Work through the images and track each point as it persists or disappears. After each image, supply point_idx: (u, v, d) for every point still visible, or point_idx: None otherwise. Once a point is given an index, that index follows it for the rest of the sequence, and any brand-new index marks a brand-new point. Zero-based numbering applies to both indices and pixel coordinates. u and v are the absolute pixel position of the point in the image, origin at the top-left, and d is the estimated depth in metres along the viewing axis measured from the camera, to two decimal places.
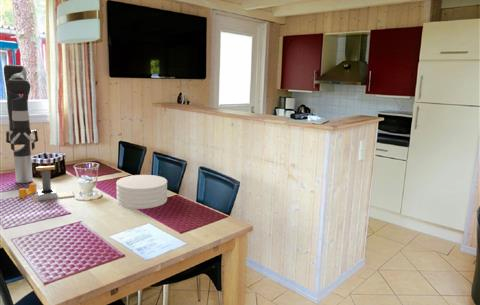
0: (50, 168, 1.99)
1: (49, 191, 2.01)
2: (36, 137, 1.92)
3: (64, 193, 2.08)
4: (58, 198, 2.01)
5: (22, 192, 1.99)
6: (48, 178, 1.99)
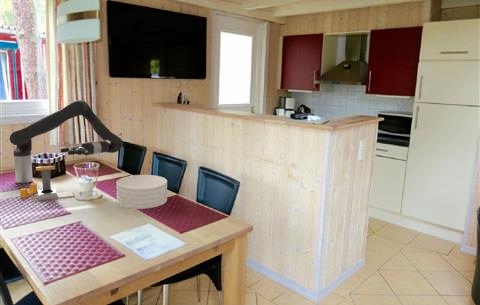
0: (50, 168, 1.99)
1: (49, 191, 2.01)
2: None
3: (64, 193, 2.08)
4: (58, 198, 2.01)
5: (24, 192, 1.99)
6: (48, 178, 1.99)
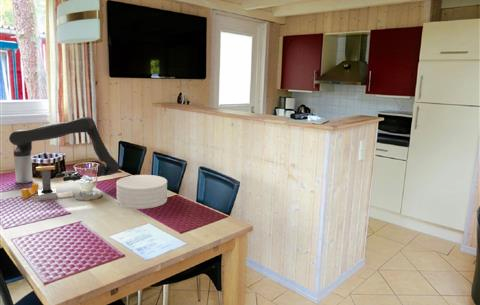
0: (50, 168, 1.99)
1: (49, 191, 2.01)
2: None
3: (64, 193, 2.08)
4: (58, 198, 2.01)
5: (25, 192, 1.99)
6: (48, 178, 1.99)
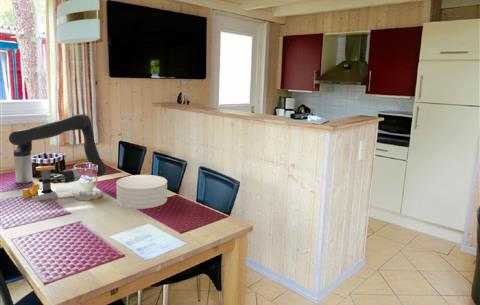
0: (50, 168, 1.99)
1: (49, 191, 2.01)
2: None
3: (64, 193, 2.08)
4: (58, 198, 2.01)
5: (27, 192, 1.99)
6: (48, 178, 1.99)
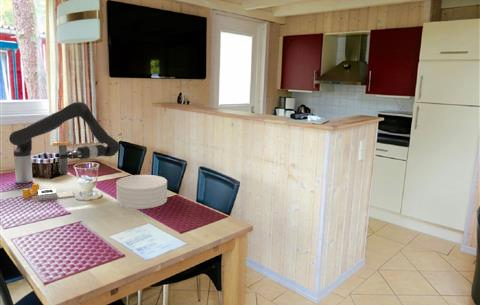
0: (67, 143, 2.01)
1: (66, 166, 2.03)
2: None
3: (64, 193, 2.08)
4: (58, 198, 2.01)
5: (27, 192, 1.99)
6: (65, 153, 2.01)
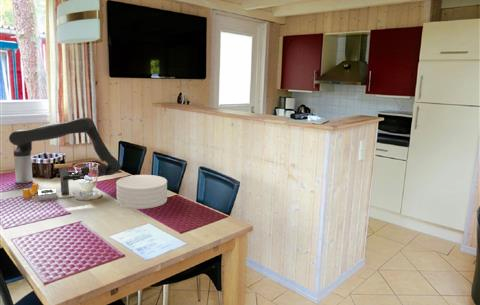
0: (68, 165, 2.04)
1: (67, 188, 2.05)
2: None
3: None
4: (58, 198, 2.01)
5: (27, 192, 1.99)
6: (66, 175, 2.04)
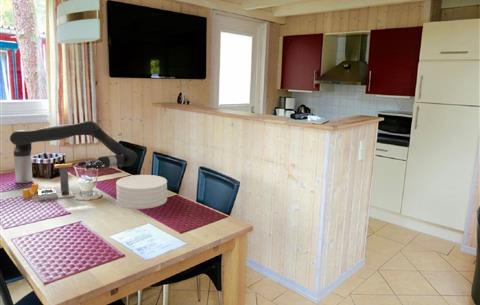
0: (68, 166, 2.04)
1: (67, 188, 2.05)
2: None
3: None
4: (58, 198, 2.01)
5: (27, 193, 1.99)
6: (66, 175, 2.04)
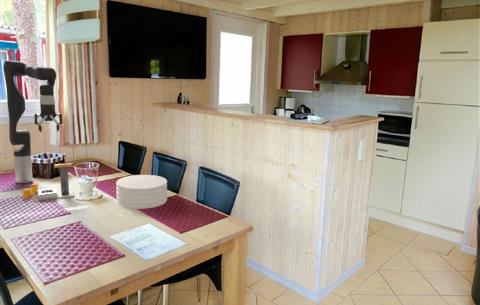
0: (68, 165, 2.04)
1: (67, 188, 2.05)
2: (61, 120, 2.12)
3: None
4: (58, 198, 2.01)
5: (27, 192, 1.99)
6: (66, 175, 2.04)
